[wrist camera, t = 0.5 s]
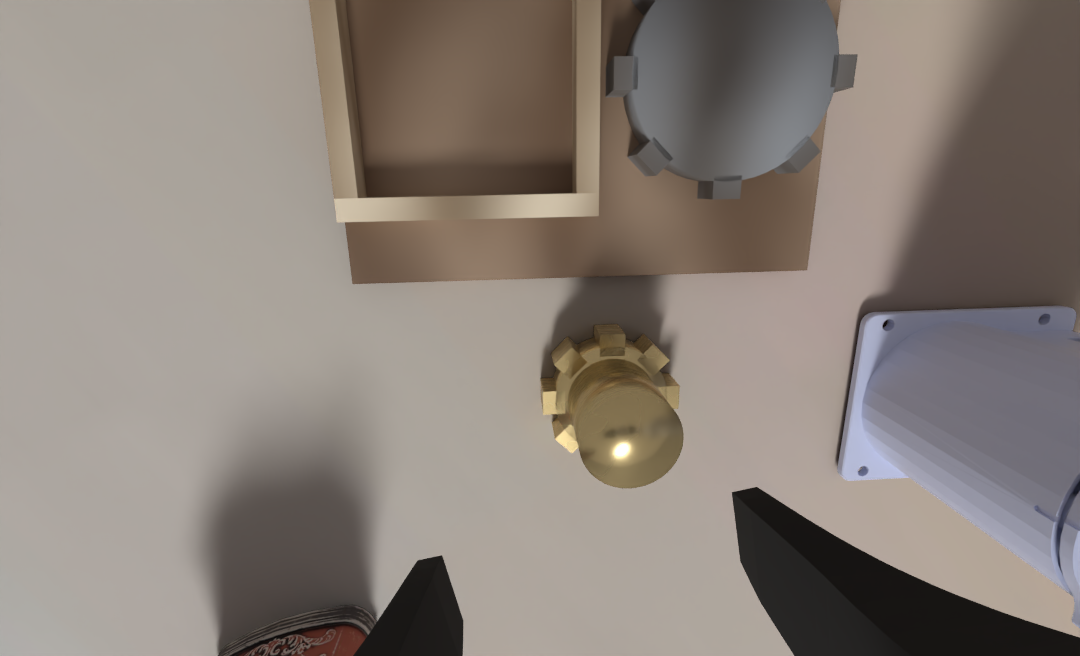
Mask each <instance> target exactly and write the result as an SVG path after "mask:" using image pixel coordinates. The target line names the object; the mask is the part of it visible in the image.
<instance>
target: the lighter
mask: <svg viewBox="0 0 1080 656" xmlns="http://www.w3.org/2000/svg"><path fill="white" fill-rule="evenodd" d="M375 624H376V622H375V619H374V618H373V617H372V615H371V614H370V613H369V612H367V611H366V610H365V609H363V608H361V607H357V606H354V605H345V606H339V607H332V608H326V609H320V610H314V611H310V612H307V613H303V614H299V615H295V616H292V617H288V618H284V619H281V620H279V621H276V622H274V623H271V624H269V625H266V626H264V627H261V628H259V629H257V630H254V631H252V632H250V633H248V634H246V635H245V636H243V637H241V638H239V639H237V640H235V641H234V642H232V643H230V644H228V645H227V646H225V647H224V648H223V649H222V650H221V652H220V653H219V655H218V656H353V655H354V654H355V652H356V651H357V650H358V648H359V647H360V646H361V644H362V643H363V642H364V640H365V639H366V637H367V636H368V635H369V633H370V632H371V630H372V629H373V627H374V626H375Z"/></svg>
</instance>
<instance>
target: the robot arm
mask: <svg viewBox="0 0 1080 656" xmlns="http://www.w3.org/2000/svg"><path fill="white" fill-rule="evenodd" d="M1040 316H1041V318H1040ZM1039 318H1040V320H1039ZM886 320H888V323H887V326H885V327H884V328H883V326H882V325H883V323H884V322H885V321H886ZM1075 321H1076V312H1075V310H1074V309H1073V308H1070V307H1066V306H1036V307H1007V308H978V309H950V310H921V311H893V312H872V313H868V314H867V315H865V316H864V317H863V319H862V320H861V323H860V329H859V335H858V342H857V348H856V354H855V360H854V367H853V373H852V379H851V386H850V392H849V398H848V405H847V411H846V417H845V424H844V430H843V436H842V443H841V449H840V455H839V462H838V468H837V469H838V473H839V475H840V476H841V477H843V478H844V479H846V480H849V481H853V480H872V479H891V478H911V479H912V480H913V481H915V482H916V483H918V484H919V485H920V486H922V487H923V488H924V489H926V490H927V491H929V492H930V493H931V494H933V495H934V496H935V497H937V498H938V499H940V500H941V501H942V502H944V503H945V504H946V505H948V506H949V507H951V508H952V509H953V510H955V511H956V512H957V513H959V514H960V515H962V516H963V517H964V518H966V519H967V520H968V521H970V522H971V523H973V524H974V525H975V526H977V527H978V528H979V529H981V530H982V531H984V532H985V533H986V534H988V535H989V536H990V537H992V538H993V539H995V540H996V541H997V542H999V543H1000V544H1001V545H1003V546H1004V547H1006V548H1007V549H1008V550H1010V551H1011V552H1012V553H1014V554H1015V555H1017V556H1018V557H1019V558H1021V559H1022V560H1023V561H1025V562H1026V563H1028V564H1029V565H1030V566H1032V567H1033V568H1034V569H1036V570H1037V571H1039V572H1040V573H1041V574H1043V575H1044V576H1045V577H1047V578H1048V579H1050V580H1051V581H1052V582H1054V583H1055V584H1056V585H1058V586H1059V587H1061V588H1062V589H1063V590H1065V591H1066V592H1067V593H1069V594H1070V595H1072V596H1073V597H1074V602H1075V605H1074V613H1073V616H1072V623H1074V624H1075V625H1076V626H1077V627H1079V628H1080V333H1078V332H1074V331H1073V328H1074V324H1075ZM862 466H863V467H862ZM860 467H862V469H861V470H860V471H858V469H859V468H860ZM732 497H733V505H734V513H735V521H736V529H737V537H738V545H739V553H740V561H741V563H742V565H743V568H744V570H745V572H746V574H747V576H748V578H749V580H750V582H751V584H752V586H753V588H754V590H755V592H756V594H757V596H758V598H759V600H760V602H761V604H762V605H763V607H764V609H765V610H766V612H767V613H768V615H769V617H770V618H771V620H772V621H773V623H774V624H775V626H776V628H777V629H778V631H779V632H780V634H781V635H782V637H783V639H784V640H785V642H786V643H787V645H788V646H789V648H790V649H791V651H792V653H793V654H794V656H1080V638H1079V637H1076V636H1073V635H1069V634H1066V633H1063V632H1060V631H1057V630H1054V629H1050V628H1047V627H1044V626H1041V625H1038V624H1035V623H1032V622H1028V621H1025V620H1023V619H1020V618H1017V617H1014V616H1011V615H1008V614H1005V613H1002V612H1000V611H997V610H994V609H991V608H989V607H986V606H984V605H981V604H978V603H976V602H973V601H971V600H968V599H965V598H963V597H960V596H958V595H955V594H953V593H950V592H948V591H945V590H943V589H941V588H938V587H936V586H934V585H931V584H929V583H927V582H925V581H922V580H920V579H918V578H916V577H914V576H912V575H909V574H907V573H905V572H903V571H901V570H898V569H896V568H894V567H892V566H890V565H888V564H886V563H884V562H882V561H880V560H878V559H876V558H875V557H873V556H871V555H869V554H867V553H865V552H863V551H861V550H859V549H858V548H856V547H854V546H852V545H850V544H848V543H847V542H845V541H843V540H841V539H840V538H838V537H836V536H834V535H833V534H831V533H829V532H828V531H826V530H824V529H823V528H821V527H819V526H818V525H816V524H814V523H813V522H811V521H809V520H808V519H806V518H804V517H803V516H801V515H800V514H798V513H797V512H795V511H793V510H792V509H790V508H789V507H787V506H786V505H784V504H782V503H781V502H779V501H778V500H776V499H775V498H773V497H772V496H770V495H769V494H767V493H765V492H764V491H762V490H761V489H759V488H757V487H755V488H750V489H746V490H741V491H736V492H732ZM462 655H463V619H462V616H461V613H460V609H459V606H458V603H457V600H456V597H455V594H454V591H453V588H452V585H451V582H450V579H449V575H448V572H447V569H446V566H445V563H444V560H443V557H442V555H441V556H437V557H432V558H427V559H423V560H418V561H417V562H416V564H415V565H414V567H413V568H412V570H411V571H410V573H409V574H408V576H407V577H406V579H405V580H404V582H403V583H402V585H401V587H400V588H399V590H398V591H397V593H396V594H395V596H394V597H393V599H392V600H391V602H390V603H389V605H388V607H387V608H386V610H385V611H384V612H383V614H382V615H381V617H380V618H379V620H378V621H377V623H376V624H375V626H374V627H373V629H372V630H371V632H370V633H369V635H368V636H367V637H366V639H365V640H364V642H363V643H362V644H361V646H360V647H359V648H358V650H357V651H356V652H355V654H354V655H353V656H462Z"/></svg>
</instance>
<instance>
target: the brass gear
mask: <svg viewBox="0 0 1080 656" xmlns="http://www.w3.org/2000/svg"><path fill="white" fill-rule="evenodd" d="M551 355H552V359H553V363H554V365H555V366H556V367H557V369H556V371H555V374H554V378H541V403H542V409H543V415H545V414H557V416H558V417H557V418H556V419H555V420H554V421H553V422H552V425H553V431H554V436H555V439H556V440H557V441H558V442H559V443H560V444H562V445H563V446H564V447H565V448H566V449H567V450H569V451H570V452H571V453H573V452H574V451H575V450H576V449H577V448H578V447H579V451H580V455H581V458H582V461H583V463H584V465H585V467H586V468H587V469H588V471H589V472H590V473H591V474H592V475H593V476H594V477H595V478H597V479H598V480H599V481H601V482H603V483H605V484H607V485H610V486H614V487H618V488H637V487H641V486H645V485H648V484H650V483H652V482H654V481H656V480H658V479H659V478H661V477H662V476H664V475H665V474H666V473H667V472H668V471H669V470H670V469H671V468H672V467H673V465H674V464H675V463H676V461H677V459H678V457H679V455H680V453H681V450H682V446H683V428H682V424H681V421H680V419H679V417H678V415H677V414H676V412H675V411H674V410H673V409H678V405H679V388H680V386H679V385H678V384H677V382H676V381H675V380H674V379H673V378H672V377H671V375H670V374H669V373H661V371H660V369H661V368H662V367H663V366H664V365H666V364H667V363H668V362H669V361H670V360H669V359H668V358H667V357H666V356H665V355H664V354H663V353H662V352H661V350H660V349H659V348H658V347H657V346H656V345H655V344H654V343H652V342H651V341H650V340H649V339H648V338H647V337H646V336H645V335H644V334H643V335H642V336H641V337H640V338H639V339H638V340H637V341H635V342H634V343H633V342H631V341H629V340H627V339H625V333H624V332H623V330H622V329H621V328H620V327H619V325H618V324H607V325H594V338H591V339H588V340H585V341H583V342H581V343H579V344H578V345H576V344H575V343H574V342H573V341H572V340H571V339H570V338H569V337H566V338H565V339H564V340H563V341H562V343H561V344H560V345H559V346H558V347H557V348H556V349H555V350H554V351H553V352H552V353H551Z"/></svg>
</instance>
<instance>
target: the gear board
mask: <svg viewBox="0 0 1080 656" xmlns="http://www.w3.org/2000/svg"><path fill="white" fill-rule="evenodd" d="M840 2H841V0H309V4H310V12H311V20H312V28H313V36H314V44H315V52H316V60H317V68H318V76H319V84H320V91H321V99H322V107H323V115H324V123H325V131H326V139H327V147H328V155H329V163H330V170H331V178H332V186H333V194H334V202H335V210H336V218H337V222H345V225H346V234H347V242H348V250H349V258H350V266H351V275H352V283H353V284H367V283H401V282H434V281H467V280H500V279H533V278H566V277H599V276H632V275H665V274H698V273H731V272H764V271H797V270H807V267H808V259H809V251H810V243H811V235H812V227H813V219H814V211H815V203H816V195H817V187H818V178H819V170H820V162H821V154H822V146H823V138H824V130H825V122H826V114H827V108H828V106H829V104H830V101H831V98H832V95H833V93H834V92H838V91H841V90H845V89H848V88H852V87H853V84H854V76H855V69H856V62H857V54H856V55H839V44H838V36H837V26H838V18H839V10H840Z"/></svg>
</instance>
